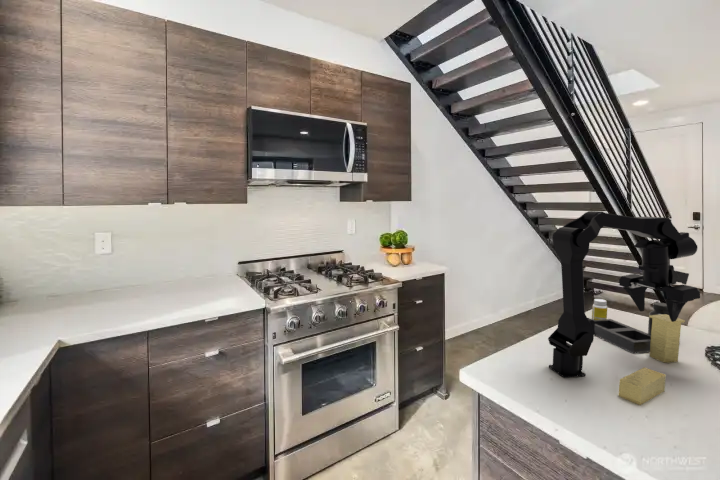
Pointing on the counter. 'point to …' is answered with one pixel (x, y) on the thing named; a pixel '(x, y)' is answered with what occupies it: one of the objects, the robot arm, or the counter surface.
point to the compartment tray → (623, 336)
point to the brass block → (665, 338)
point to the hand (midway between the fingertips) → (657, 315)
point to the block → (642, 385)
